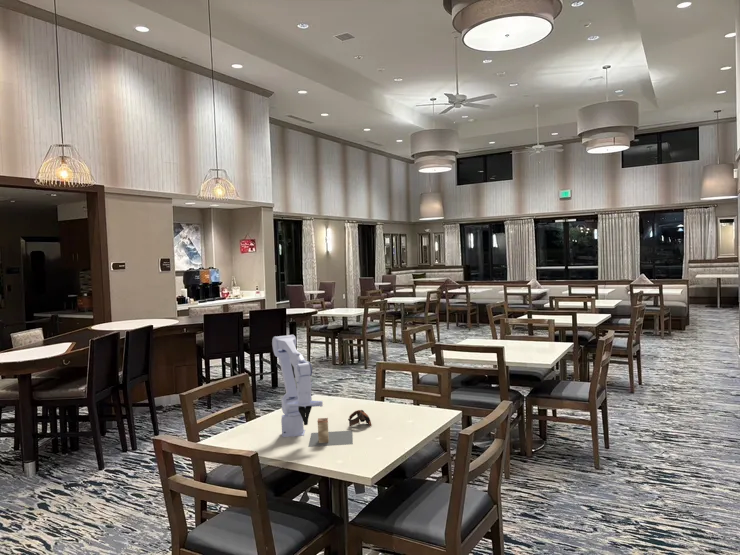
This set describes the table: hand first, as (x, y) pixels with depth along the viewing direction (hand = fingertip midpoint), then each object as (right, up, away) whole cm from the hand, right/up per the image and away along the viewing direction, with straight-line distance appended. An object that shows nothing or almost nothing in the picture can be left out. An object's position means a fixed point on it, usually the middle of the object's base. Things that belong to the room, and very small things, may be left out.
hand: (306, 424), depth 222 cm
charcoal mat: (+10, -7, +4) cm, 13 cm away
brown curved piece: (+22, -7, +21) cm, 31 cm away
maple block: (+7, -7, 0) cm, 10 cm away
